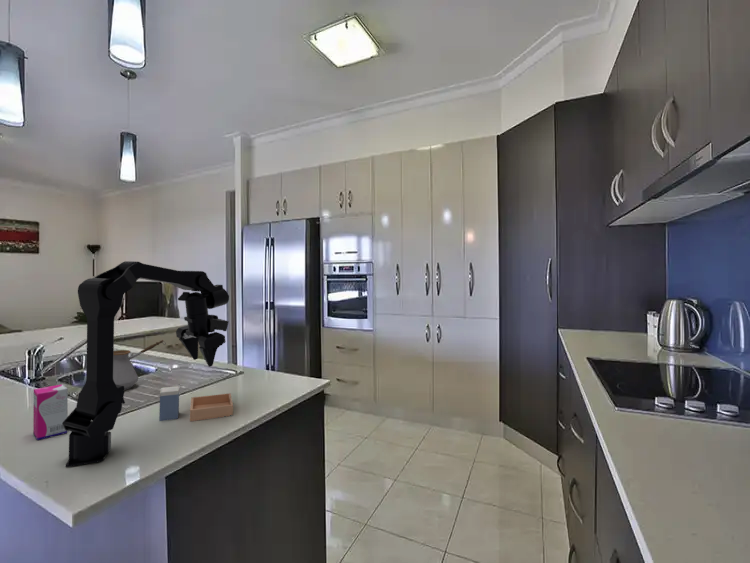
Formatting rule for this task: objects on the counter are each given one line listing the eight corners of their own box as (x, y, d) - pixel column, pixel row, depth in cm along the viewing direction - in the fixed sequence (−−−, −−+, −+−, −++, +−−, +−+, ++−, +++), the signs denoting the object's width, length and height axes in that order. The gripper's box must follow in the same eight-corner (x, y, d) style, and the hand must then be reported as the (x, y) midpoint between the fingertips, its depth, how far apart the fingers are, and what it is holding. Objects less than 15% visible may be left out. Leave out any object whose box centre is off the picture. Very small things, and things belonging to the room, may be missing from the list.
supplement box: (62, 426, 93) (63, 383, 93) (67, 433, 89) (68, 388, 89) (32, 433, 89) (33, 388, 89) (36, 441, 85) (37, 393, 85)
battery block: (159, 421, 98) (159, 392, 98) (161, 415, 102) (161, 387, 102) (177, 418, 100) (178, 390, 100) (178, 413, 104) (179, 386, 104)
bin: (189, 421, 99) (190, 410, 99) (191, 407, 109) (191, 397, 109) (232, 415, 104) (233, 405, 103) (230, 402, 114) (230, 393, 114)
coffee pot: (107, 396, 116) (108, 350, 116) (91, 389, 122) (92, 346, 122) (172, 380, 135) (173, 341, 134) (156, 375, 141) (157, 338, 140)
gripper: (239, 311, 105) (244, 360, 108) (208, 303, 116) (213, 348, 119) (202, 319, 96) (208, 373, 99) (172, 310, 108) (178, 359, 110)
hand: (203, 362), depth 107 cm, fingers open, 9 cm apart
